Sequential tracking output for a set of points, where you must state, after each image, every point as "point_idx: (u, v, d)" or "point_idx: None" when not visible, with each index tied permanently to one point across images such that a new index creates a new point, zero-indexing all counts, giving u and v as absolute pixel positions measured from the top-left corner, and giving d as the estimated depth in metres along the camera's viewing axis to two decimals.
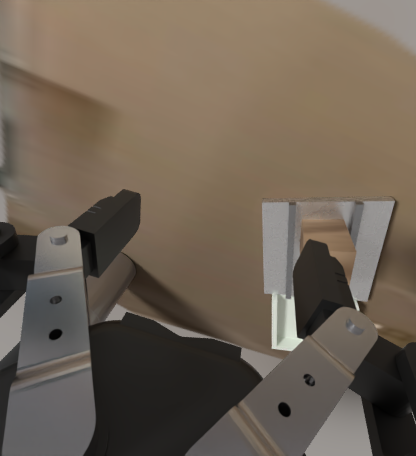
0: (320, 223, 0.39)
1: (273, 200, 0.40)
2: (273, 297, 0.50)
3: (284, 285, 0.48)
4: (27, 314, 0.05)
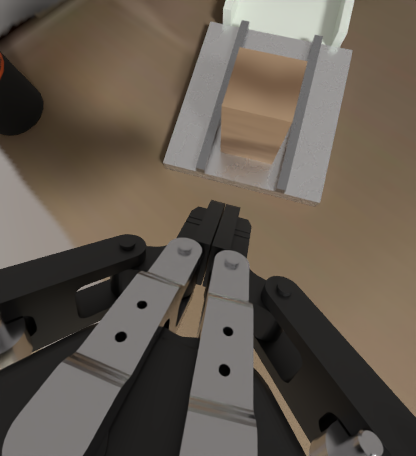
0: (251, 153, 0.28)
1: (301, 200, 0.29)
2: (340, 40, 0.31)
3: (317, 61, 0.31)
4: (116, 305, 0.06)
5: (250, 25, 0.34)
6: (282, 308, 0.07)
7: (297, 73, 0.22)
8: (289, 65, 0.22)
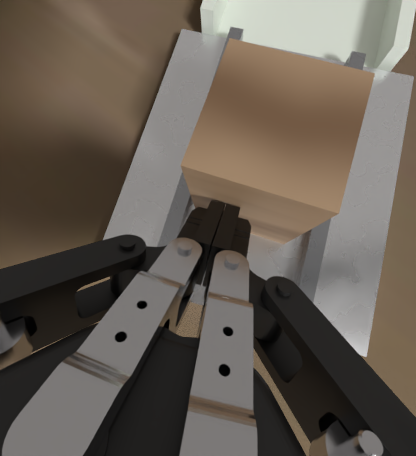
0: None
1: None
2: (393, 61, 0.19)
3: None
4: (115, 305, 0.06)
5: (245, 34, 0.22)
6: (282, 308, 0.07)
7: (353, 98, 0.10)
8: (335, 81, 0.10)
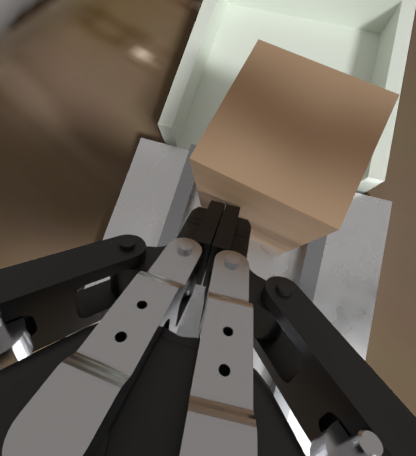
0: None
1: None
2: (370, 185, 0.17)
3: None
4: (116, 305, 0.06)
5: None
6: (282, 308, 0.07)
7: (372, 116, 0.10)
8: (357, 96, 0.10)
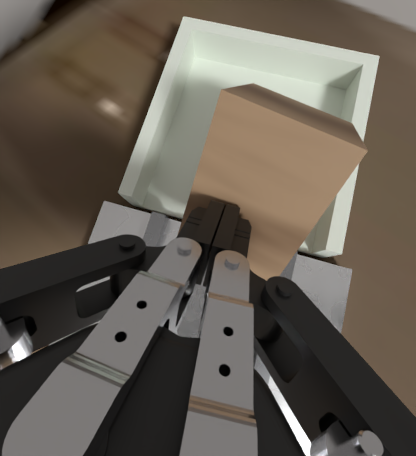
0: None
1: None
2: (329, 254, 0.17)
3: None
4: (116, 305, 0.06)
5: (177, 199, 0.20)
6: (282, 308, 0.07)
7: (344, 123, 0.13)
8: (328, 115, 0.14)
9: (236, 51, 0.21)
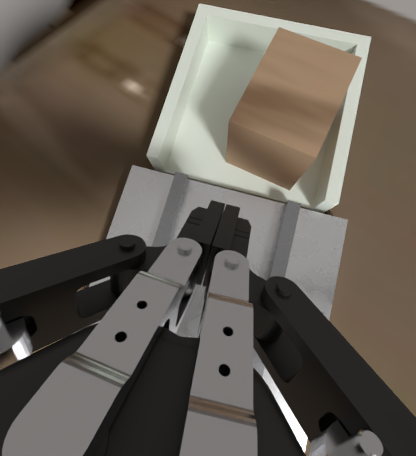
0: (286, 125, 0.16)
1: None
2: (328, 206, 0.20)
3: (293, 237, 0.20)
4: (115, 304, 0.06)
5: (195, 165, 0.23)
6: (282, 308, 0.07)
7: None
8: None
9: (245, 34, 0.23)
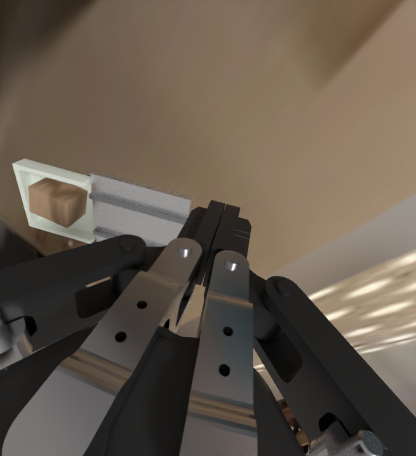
0: (61, 212, 0.49)
1: (190, 206, 0.49)
2: (87, 182, 0.50)
3: (103, 194, 0.51)
4: (116, 305, 0.06)
5: (90, 224, 0.57)
6: (282, 308, 0.07)
7: None
8: None
9: None
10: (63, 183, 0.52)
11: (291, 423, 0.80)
